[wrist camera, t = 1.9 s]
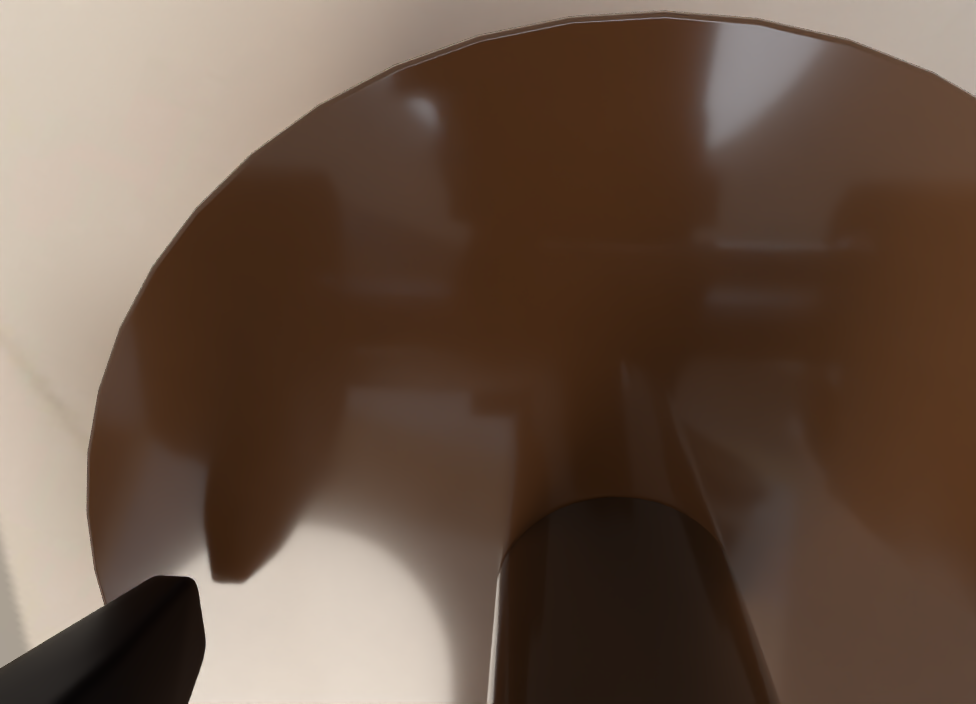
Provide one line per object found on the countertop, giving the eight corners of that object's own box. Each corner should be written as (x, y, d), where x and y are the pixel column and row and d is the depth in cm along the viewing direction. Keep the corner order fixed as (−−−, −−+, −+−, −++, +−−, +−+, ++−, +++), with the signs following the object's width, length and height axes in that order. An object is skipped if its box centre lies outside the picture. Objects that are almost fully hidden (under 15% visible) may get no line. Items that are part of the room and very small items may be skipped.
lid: (1327, 570, 9) (2085, 1089, 5) (572, 971, 13) (589, 1485, 8) (673, -307, 7) (964, -1064, 2) (-48, 507, 10) (-526, 889, 6)
